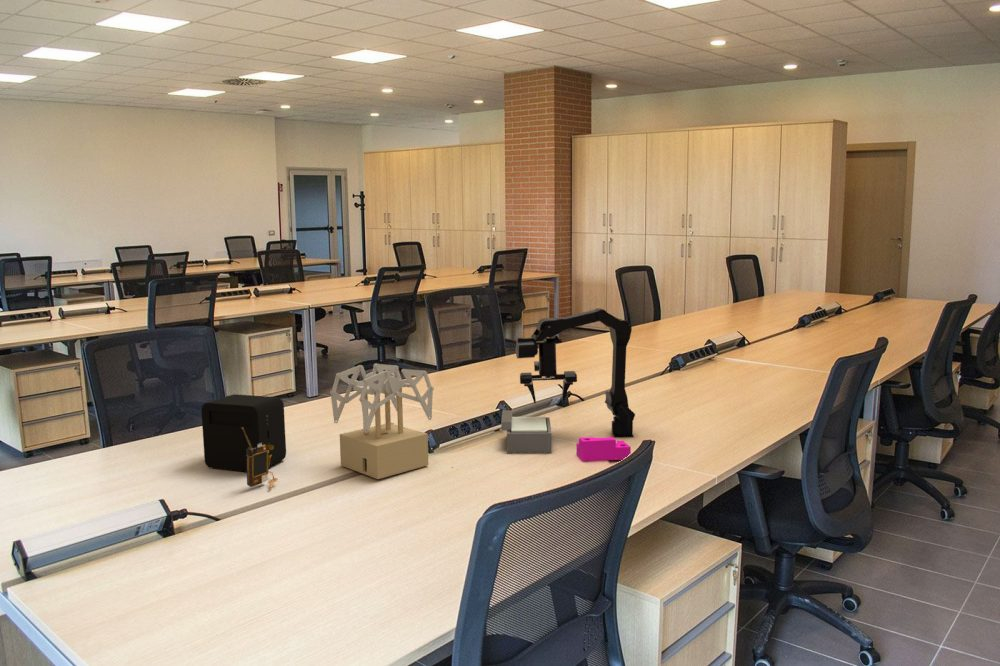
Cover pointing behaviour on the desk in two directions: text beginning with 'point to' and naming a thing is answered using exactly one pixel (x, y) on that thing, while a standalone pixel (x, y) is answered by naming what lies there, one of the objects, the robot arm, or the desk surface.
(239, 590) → the desk surface
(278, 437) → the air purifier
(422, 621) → the desk surface
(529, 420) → the trapdoor
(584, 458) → the magenta saddle bracket
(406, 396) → the kinetic sculpture
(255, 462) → the walkie talkie
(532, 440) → the hatch box
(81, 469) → the desk surface
